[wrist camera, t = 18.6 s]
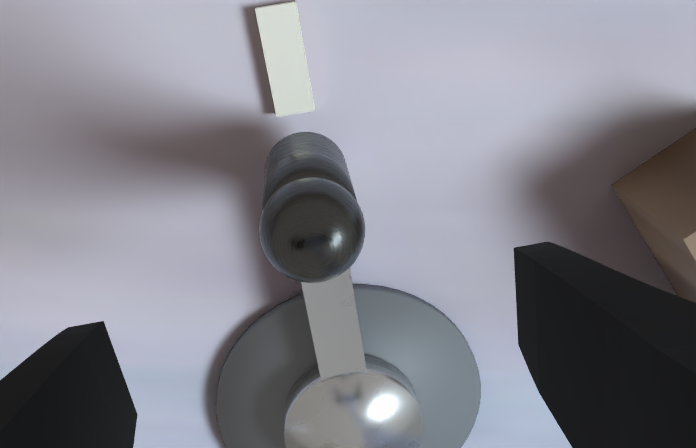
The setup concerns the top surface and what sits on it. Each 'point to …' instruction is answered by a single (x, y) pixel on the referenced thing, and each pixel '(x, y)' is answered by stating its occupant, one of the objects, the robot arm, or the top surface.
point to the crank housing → (372, 309)
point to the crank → (330, 304)
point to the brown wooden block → (667, 210)
